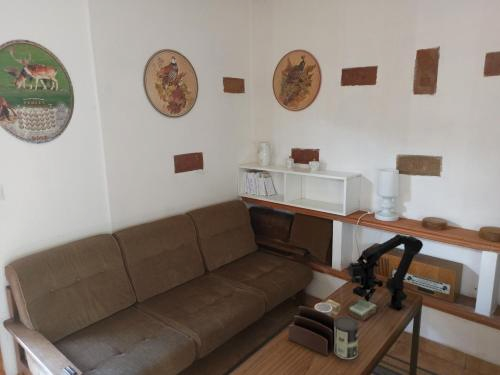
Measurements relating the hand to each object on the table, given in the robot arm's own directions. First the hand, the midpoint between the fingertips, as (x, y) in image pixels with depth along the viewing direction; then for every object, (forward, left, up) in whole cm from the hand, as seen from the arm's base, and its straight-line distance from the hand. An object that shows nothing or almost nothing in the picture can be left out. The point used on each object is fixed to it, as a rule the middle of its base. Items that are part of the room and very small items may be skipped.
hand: (367, 301), depth 186 cm
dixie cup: (+27, -7, -5) cm, 28 cm away
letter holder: (+40, -2, -6) cm, 41 cm away
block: (+13, -12, -5) cm, 19 cm away
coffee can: (+35, +12, -5) cm, 37 cm away
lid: (+4, 0, -2) cm, 4 cm away
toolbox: (+4, 0, -5) cm, 7 cm away
